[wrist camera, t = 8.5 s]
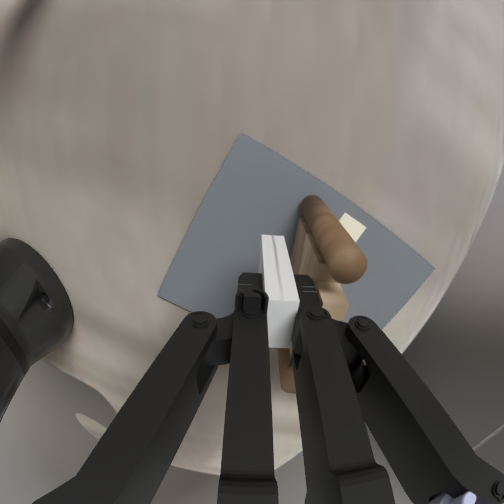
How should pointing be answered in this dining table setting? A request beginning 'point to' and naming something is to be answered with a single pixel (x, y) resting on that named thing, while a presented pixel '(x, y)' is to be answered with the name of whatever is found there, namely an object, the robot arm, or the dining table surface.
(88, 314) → the dining table surface
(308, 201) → the hinged fence panel
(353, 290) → the card
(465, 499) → the robot arm
